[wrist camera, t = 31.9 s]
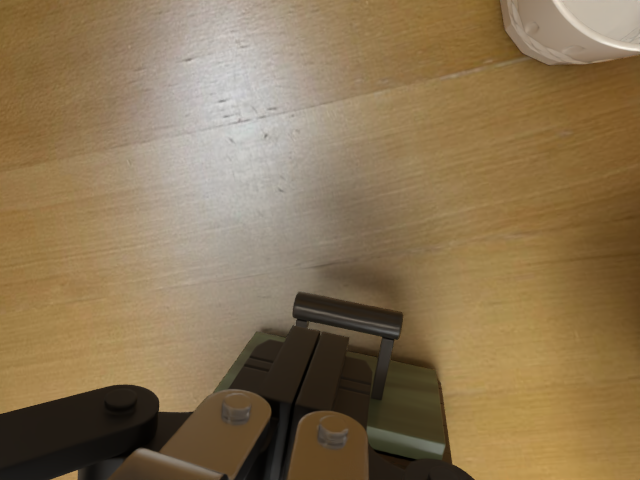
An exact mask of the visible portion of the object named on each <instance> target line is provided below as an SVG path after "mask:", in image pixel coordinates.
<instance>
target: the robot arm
mask: <svg viewBox="0 0 640 480" xmlns="http://www.w3.org/2000/svg"><path fill="white" fill-rule="evenodd" d="M348 342H349V337H345V336H340V335H335V334H331V333H326V332H322V334H321V336H320V331H317V330H312V329H308V328H303V327H298V326H294V325H293V326H292V328H291V330H290V332H289V334H288V336H287V338H286V340H285V341H284V342H281V341H276V340H272V339H268V340H267V341H265V342H263V343H261V344H259V345H257V346H256V347H255V348H254V350H253V351H252V353H251V355H250V357H249V358H248V359H247V361H246V362H245V364H244V366H243V367H242V368H241V370H240V371H239V373H238V375H237V376H236V378H235V379H234V381H233V382H232V384H231V385H230V387H229V388H228V390H221V391H218V392H215V393H213V394H211V395H209V396H208V397H207V398H205V399H204V401H203V402H202V403H201V404H200V405H199V406H198V407H197V409H196V410H195V411H194V412H181V413H180V412H159V400H158V398H157V396H156V395H155V394H154V393H153V392H152V391H150V390H148V389H146V388H144V387H140V386H135V385H113V386H108V387H104V388H100V389H96V390H93V391H89V392H85V393H81V394H77V395H73V396H69V397H65V398H61V399H57V400H53V401H50V402H46V403H42V404H38V405H34V406H30V407H26V408H22V409H18V410H14V411H11V412H7V413H3V414H0V480H50V479H53V478H56V477H59V476H61V475H64V474H67V473H70V472H73V471H76V470H78V480H474V479H473V478H472V477H471V476H470V475H469V474H467V473H466V472H465V471H463V470H462V469H460V468H459V467H457V466H455V465H453V464H450V463H448V462H445V461H442V460H437V459H430V458H426V459H418V460H415V461H413V462H411V463H410V464H409V465H408V466H407V467H406V469H405V470H404V469H402V468H400V467H397V466H395V465H393V464H392V463H390V462H388V461H386V460H385V459H383V458H382V457H381V456H380V455H378V454H377V453H376V452H375V451H374V450H373V448H372V447H371V446H370V444H369V442H368V435H367V433H366V430H367V420H368V411H369V402H370V393H371V383H372V374H373V372H372V370H371V368H370V367H369V365H368V363H367V362H366V360H362V359H357V358H353V357H348V356H346V353H347V348H348Z"/></svg>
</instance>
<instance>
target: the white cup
mask: <svg viewBox="0 0 640 480" xmlns="http://www.w3.org/2000/svg"><path fill="white" fill-rule="evenodd" d="M500 4H501V10H502V16H503V22H504V28H505V31H506V32H507V34H508V35H509V36H510V38H511V39H512V40H513V42H514V43H515V44H516V46H517V47H518V48H519V50H520V51H521V52H522V53H523V54H525V55H527V56H529V57H532V58H534V59H536V60H538V61H540V62H543V63H545V64H547V65H566V64H590V63H598V62H606V61H612V60H618V59H623V58H628V57H633V56H638V55H640V0H500Z"/></svg>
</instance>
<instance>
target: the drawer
mask: <svg viewBox="0 0 640 480" xmlns="http://www.w3.org/2000/svg"><path fill="white" fill-rule="evenodd" d="M293 317H294V318H296V319H297V320H296V326H298V327H303V328H308V324H309V321H310V322H315V323H320V324H325V325H329V326H334V327H339V328H344V329H348V330H353V331H358V332H363V333H367V334H372V335H377V336H382V341H381V346H380V351H379V356H378V358H377V357H373V356H368V355H363V354H359V353H354V352H350V351H347V353H346V356H348V357H353V358H357V359H362V360H366V362H367V363H368V365H369V367H370V368H371V370H372V372H373V374H372V383H371V393H370V402H369V411H368V420H367V430H366V433H367V435H368V442H369V444H370V446H371V447H372V448H373V450H374V451H375V452H376V453H379V454H383V455H388V456H392V457H396V458H400V459H404V460H408V461H415V460H418V459H426V458H430V459H437V460H442V458H443V454H444V450H445V446H446V443H445V435H444V428H443V420H442V412H441V405H440V397H439V389H438V382H437V374H436V370H433V369H428V368H424V367H419V366H414V365H410V364H405V363H400V362H396V361H391V360H390V358H391V353H392V349H393V344H394V339H396V340H397V339H399V336H400V332H401V328H402V322H403V313H402V312H398V311H393V310H388V309H383V308H378V307H374V306H369V305H364V304H359V303H354V302H349V301H344V300H339V299H334V298H329V297H324V296H320V295H315V294H310V293H305V292H298V293H297V295H296V298H295V302H294V306H293ZM268 339H272V340H276V341H281V342H284V341H285V340H286V338H285V337H280V336H276V335H271V334H266V333H262V332H256V333H255V335H254V336H253V338H252V339H251V340H250V342H249V343H248V345H247V346H246V347H245V349H244V350H243V352H242V353H241V355H240V356H239V357H238V359H237V360H236V362H235V363H234V364H233V366H232V367H231V369H230V370H229V372H228V373H227V374H226V376H225V377H224V379H223V380H222V381H221V383H220V384H219V386H218V387H217V389H216V390H215V392H218V391H221V390H228V388H229V387H230V385H231V384H232V382H233V381H234V379H235V378H236V376H237V375H238V373H239V371H240V370H241V368H242V367H243V366H244V364H245V362H246V361H247V359H248V358H249V357H250V355H251V353H252V351H253V350H254V348H255V347H256V346H257V345H259V344H261V343H263V342H265V341H267V340H268Z"/></svg>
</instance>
